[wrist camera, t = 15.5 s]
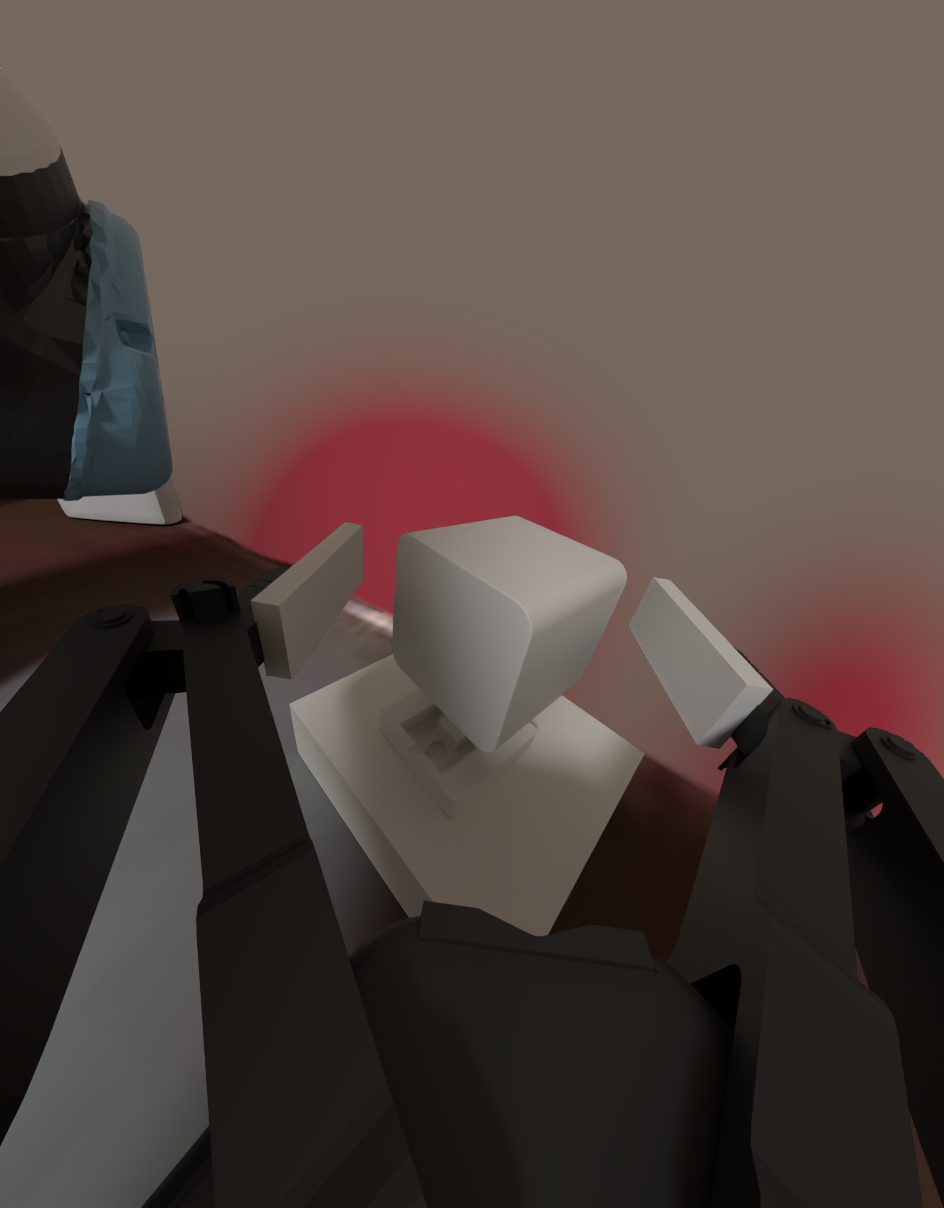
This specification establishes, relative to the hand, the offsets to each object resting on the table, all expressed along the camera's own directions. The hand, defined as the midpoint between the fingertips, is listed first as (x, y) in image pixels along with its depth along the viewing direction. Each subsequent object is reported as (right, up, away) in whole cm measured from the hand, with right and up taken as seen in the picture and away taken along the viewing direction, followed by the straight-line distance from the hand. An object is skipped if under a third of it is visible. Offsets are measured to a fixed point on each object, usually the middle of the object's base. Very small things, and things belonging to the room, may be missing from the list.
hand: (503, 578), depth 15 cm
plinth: (-2, -11, +4) cm, 12 cm away
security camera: (-2, -8, +2) cm, 8 cm away
